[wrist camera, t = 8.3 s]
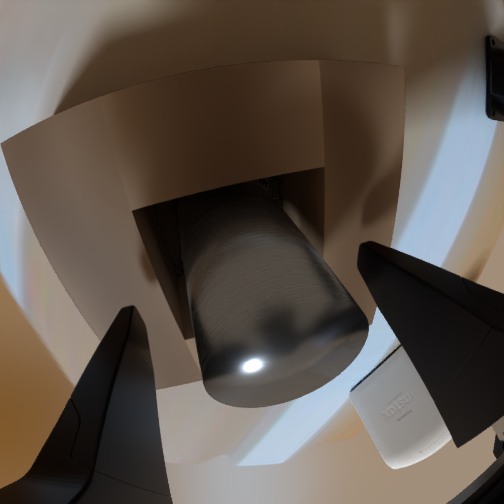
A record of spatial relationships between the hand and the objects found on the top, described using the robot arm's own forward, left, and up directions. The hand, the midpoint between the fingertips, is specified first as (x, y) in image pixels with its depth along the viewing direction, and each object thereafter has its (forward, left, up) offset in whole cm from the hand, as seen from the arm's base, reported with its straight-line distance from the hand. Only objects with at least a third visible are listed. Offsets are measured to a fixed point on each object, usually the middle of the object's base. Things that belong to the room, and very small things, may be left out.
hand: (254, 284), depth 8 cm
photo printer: (-14, +23, -5) cm, 27 cm away
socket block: (0, 0, -5) cm, 5 cm away
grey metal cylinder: (0, 0, -5) cm, 5 cm away
